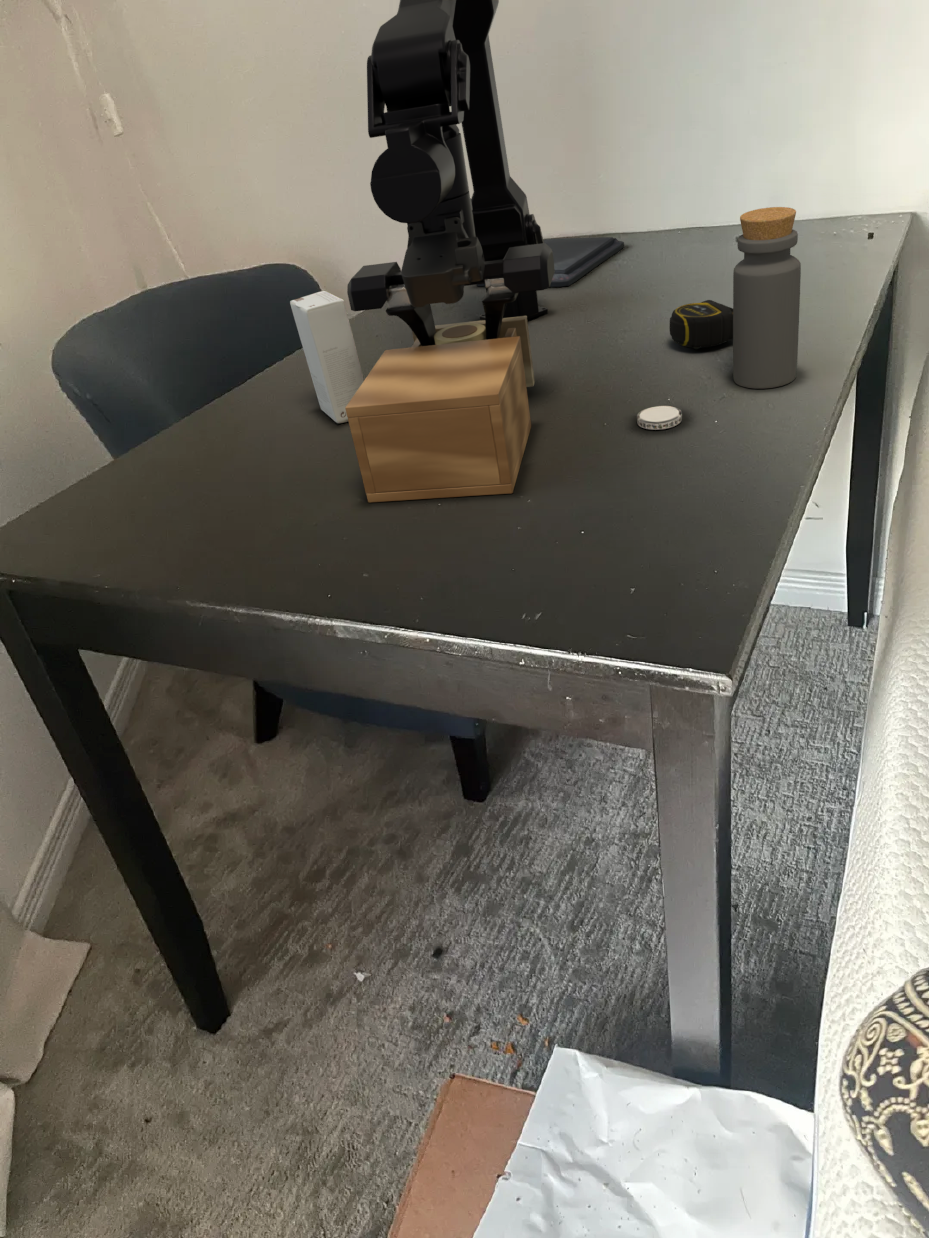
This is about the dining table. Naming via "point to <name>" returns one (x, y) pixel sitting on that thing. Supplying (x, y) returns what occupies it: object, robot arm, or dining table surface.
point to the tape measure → (702, 324)
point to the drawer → (508, 329)
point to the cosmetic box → (329, 351)
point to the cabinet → (442, 421)
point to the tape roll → (460, 333)
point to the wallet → (578, 257)
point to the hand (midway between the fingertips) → (465, 367)
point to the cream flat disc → (659, 417)
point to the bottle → (766, 300)
